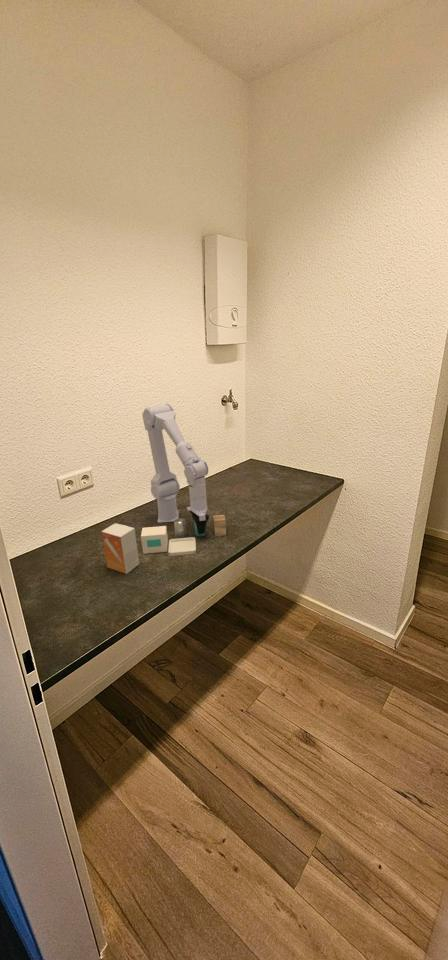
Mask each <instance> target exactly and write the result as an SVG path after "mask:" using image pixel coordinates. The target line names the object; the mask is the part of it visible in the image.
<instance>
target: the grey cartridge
mask: <svg viewBox="0 0 448 960" xmlns="http://www.w3.org/2000/svg"><path fill="white" fill-rule="evenodd" d="M173 525H174V535H175V539H180V538H187V522H186V519H185V518H182V517H181V518H180V517H179V519H176V520H174V522H173Z"/></svg>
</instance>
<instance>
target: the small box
mask: <svg viewBox="0 0 448 960" xmlns="http://www.w3.org/2000/svg"><path fill="white" fill-rule="evenodd" d="M100 533H101V538H102V539H101V540H102V544H103V551H104V555H105V556H104V557H105V562H106V567H107V569H111V570H114V571H117V572H120V573H123V574H125V575H127V574H129V573H130V572H131V571H132V570H133V569H135V568H136V567H138V566H139V565H140V557H139V550H138V544H137V538H136V537H137V536H136V529H135V527H131V526H128V525H124V524H121V523H120V524H119V523H117V522H115V523H112V524H111V525H110V526H108V527H106V528H105V529H103V530H101V532H100Z"/></svg>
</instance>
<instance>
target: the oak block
mask: <svg viewBox="0 0 448 960" xmlns="http://www.w3.org/2000/svg"><path fill="white" fill-rule="evenodd" d="M212 517H213V531H214V536H215V537H218V536H219V537H220V536H227V526H226V525H227V524H226V523H227V522H226V516H225V514H219V515H217V514H216V515H213V516H212Z"/></svg>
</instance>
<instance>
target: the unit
mask: <svg viewBox="0 0 448 960" xmlns="http://www.w3.org/2000/svg"><path fill="white" fill-rule="evenodd" d="M140 539H141V540H140V541H141V548H142V554H156V553H168V550H169V539H168V530H167V525H162V526H161V525H159V526H152V527H151V526H147V527H142V530H141V534H140Z"/></svg>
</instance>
